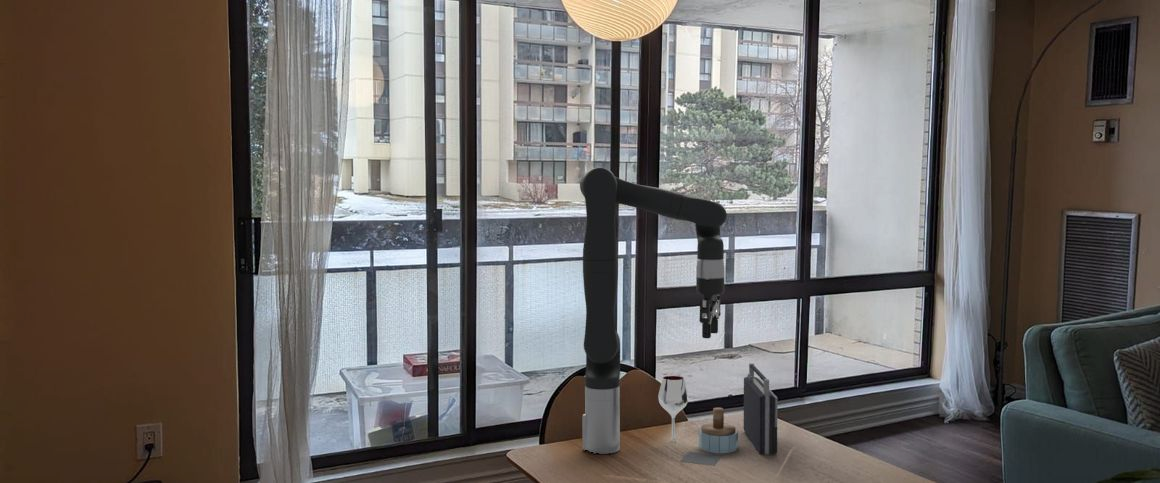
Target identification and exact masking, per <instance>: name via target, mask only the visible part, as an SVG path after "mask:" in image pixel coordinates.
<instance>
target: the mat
mask: <svg viewBox="0 0 1160 483" xmlns="http://www.w3.org/2000/svg"><path fill="white" fill-rule="evenodd" d="M722 457H723V455H722V454H716V453H705V452H695V451H687V453H686V454H685V455H684V456H683V457H682V458H681V459H680V460H679V462H680V463H688V464H696V465H697V464H698V465H706V466H713V467H715V466H716V465H717V464H718V462H719V460H721V458H722Z"/></svg>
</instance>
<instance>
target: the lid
mask: <svg viewBox="0 0 1160 483" xmlns="http://www.w3.org/2000/svg"><path fill="white" fill-rule="evenodd" d="M724 415H725V410H724V408H723V407H713V409H712V422H709V423H705V424H702V425H701V428H700V429H701V431H702V432H703V433H705V434H709V435H715V436H726V435H732V434H734V433H735V430H736V427H735V426H734V425H732V424H729V423H725V422H724V421H725V418H724V417H725V416H724Z"/></svg>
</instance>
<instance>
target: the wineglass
mask: <svg viewBox="0 0 1160 483" xmlns="http://www.w3.org/2000/svg"><path fill="white" fill-rule="evenodd" d="M657 398H658V402H659V404H660V406H661V407H662V408H663V409H664V410H665V411H666V412H667V413H668V414H669V415H670V417H671V439H670V440H669V442H672V443H673V442H677V439H676V432H675V431H676V429H675V425H676V424H675V422H676V420H675V419H676V416H677V415H678V414H679V412H681V411H682V410H683V409H684V408H685V407H686V406H687V404H688V402H689V394H688V389H687V384H686V381H685V378H684V377H683V376H679V375H666V376H663V377H662V380H661V384H660V387H659V392H658V397H657Z"/></svg>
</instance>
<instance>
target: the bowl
mask: <svg viewBox="0 0 1160 483" xmlns="http://www.w3.org/2000/svg"><path fill="white" fill-rule="evenodd" d="M698 446H699V449H700V450H702V451H704V452H708V453H711V454H729V453H733V452H736V451H737V450H738V448H739V431H738V430H737V429H735V433H734V434H732V435H726V436H715V435H709V434H705V433H703V432H702V431H701V428H700V429H699V430H698Z"/></svg>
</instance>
